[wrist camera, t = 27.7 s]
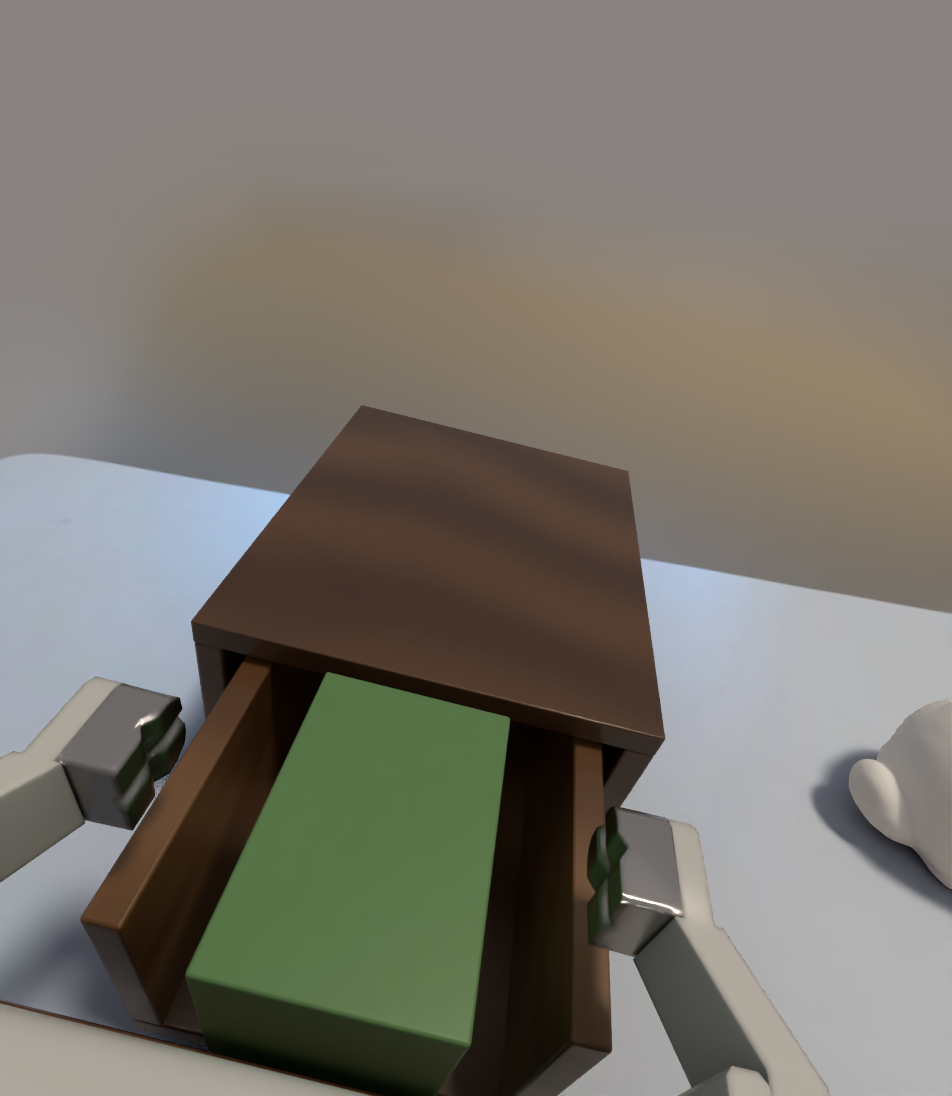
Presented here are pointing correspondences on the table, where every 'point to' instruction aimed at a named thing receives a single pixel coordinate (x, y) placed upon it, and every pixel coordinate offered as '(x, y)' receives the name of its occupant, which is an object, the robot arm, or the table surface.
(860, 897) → the table surface
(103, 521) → the table surface
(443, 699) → the cabinet
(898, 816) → the rabbit
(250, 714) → the drawer
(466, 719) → the block
